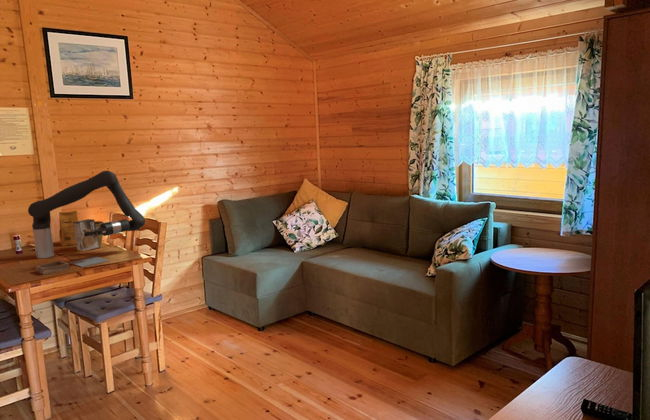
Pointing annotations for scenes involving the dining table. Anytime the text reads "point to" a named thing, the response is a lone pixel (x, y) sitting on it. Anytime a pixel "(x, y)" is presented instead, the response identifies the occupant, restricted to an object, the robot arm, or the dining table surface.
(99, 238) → the plant pot
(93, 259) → the rubber mat
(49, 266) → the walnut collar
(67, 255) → the dining table surface
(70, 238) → the coffee package
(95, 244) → the coffee box
